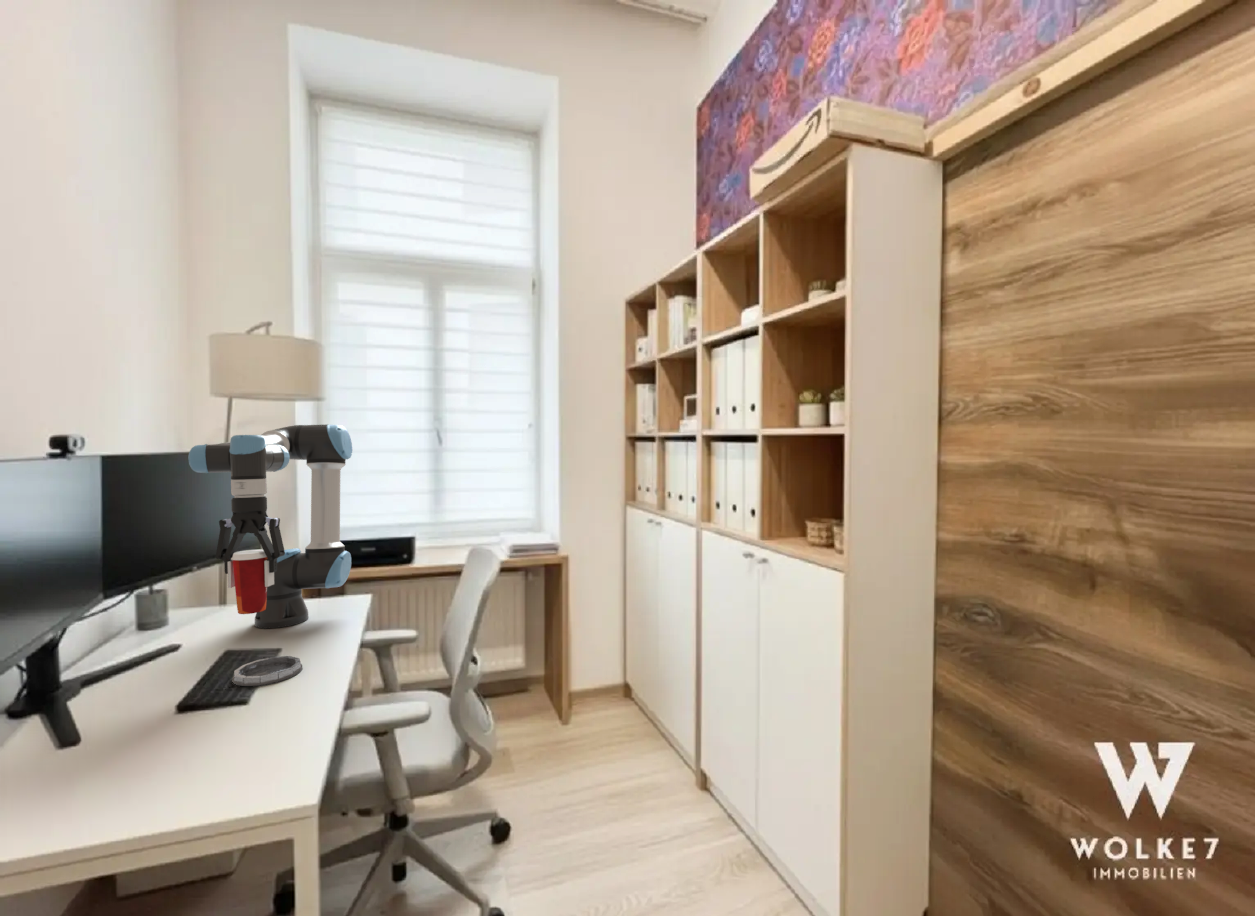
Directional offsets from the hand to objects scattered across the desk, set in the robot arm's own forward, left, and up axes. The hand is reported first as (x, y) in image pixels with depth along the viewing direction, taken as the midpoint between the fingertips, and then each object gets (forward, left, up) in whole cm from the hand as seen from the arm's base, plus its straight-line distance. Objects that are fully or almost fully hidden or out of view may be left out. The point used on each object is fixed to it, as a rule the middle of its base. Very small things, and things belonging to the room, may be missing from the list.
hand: (251, 585), depth 146 cm
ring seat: (+2, +4, -22) cm, 23 cm away
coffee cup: (0, 0, -7) cm, 7 cm away
